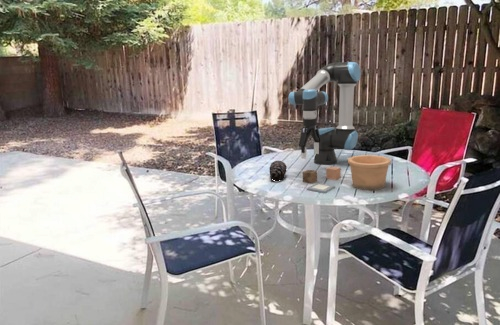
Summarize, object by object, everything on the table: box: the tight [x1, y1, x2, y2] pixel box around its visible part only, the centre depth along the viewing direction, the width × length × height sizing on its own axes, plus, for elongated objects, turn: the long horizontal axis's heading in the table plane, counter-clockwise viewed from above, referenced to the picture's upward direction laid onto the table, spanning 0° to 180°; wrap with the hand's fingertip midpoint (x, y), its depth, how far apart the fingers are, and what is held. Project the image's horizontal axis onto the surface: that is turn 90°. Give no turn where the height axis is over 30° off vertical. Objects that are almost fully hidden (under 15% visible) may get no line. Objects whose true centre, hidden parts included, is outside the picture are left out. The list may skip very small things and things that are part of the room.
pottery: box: [347, 154, 392, 191], centre depth 218 cm, size 22×22×14 cm
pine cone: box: [269, 160, 288, 182], centre depth 240 cm, size 10×18×10 cm, turn 177°
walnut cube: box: [302, 169, 318, 185], centre depth 231 cm, size 6×6×6 cm
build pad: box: [306, 182, 336, 194], centre depth 217 cm, size 11×11×1 cm
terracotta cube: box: [325, 165, 342, 181], centre depth 236 cm, size 6×6×6 cm
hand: (310, 156), depth 228 cm, fingers open, 13 cm apart
